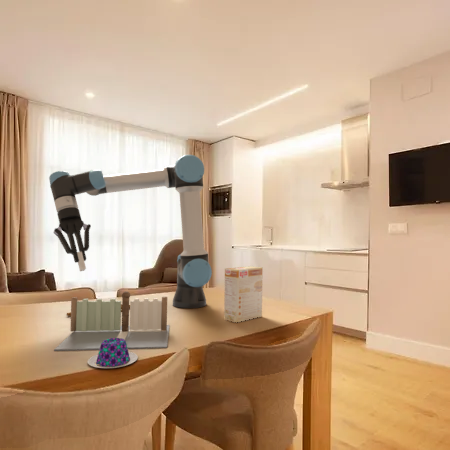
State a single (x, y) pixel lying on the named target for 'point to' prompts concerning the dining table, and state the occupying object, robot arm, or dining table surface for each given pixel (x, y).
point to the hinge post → (125, 311)
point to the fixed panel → (148, 314)
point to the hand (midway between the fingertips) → (83, 269)
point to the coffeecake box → (243, 293)
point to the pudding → (113, 354)
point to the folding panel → (95, 315)
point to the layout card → (132, 337)
